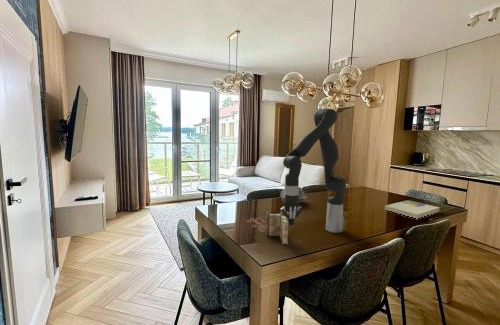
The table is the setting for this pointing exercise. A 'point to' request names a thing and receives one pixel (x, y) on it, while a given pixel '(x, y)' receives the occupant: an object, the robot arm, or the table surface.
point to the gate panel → (284, 229)
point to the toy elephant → (301, 195)
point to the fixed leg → (273, 223)
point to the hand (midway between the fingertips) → (291, 224)
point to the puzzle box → (412, 209)
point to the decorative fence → (259, 223)
